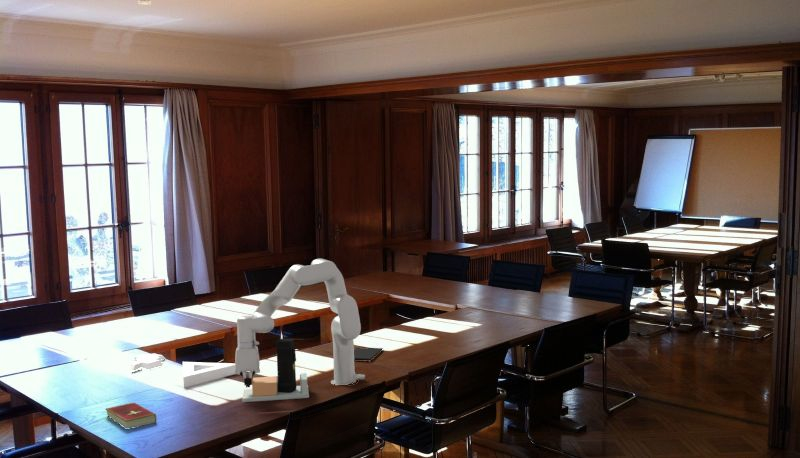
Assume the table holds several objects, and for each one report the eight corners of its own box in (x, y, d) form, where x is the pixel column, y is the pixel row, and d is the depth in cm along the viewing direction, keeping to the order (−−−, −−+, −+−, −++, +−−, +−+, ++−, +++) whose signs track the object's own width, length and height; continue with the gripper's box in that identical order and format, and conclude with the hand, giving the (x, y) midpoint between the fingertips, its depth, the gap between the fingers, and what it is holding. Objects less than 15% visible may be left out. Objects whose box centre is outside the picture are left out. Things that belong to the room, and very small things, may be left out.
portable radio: (299, 389, 322) (297, 333, 321) (293, 393, 317) (291, 336, 315) (282, 388, 324) (280, 332, 323) (277, 392, 318) (274, 335, 317)
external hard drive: (383, 353, 392) (383, 348, 391) (370, 364, 369) (369, 358, 369) (357, 352, 395) (357, 347, 395) (343, 363, 373) (343, 357, 373)
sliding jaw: (277, 387, 324) (277, 375, 324) (277, 394, 315) (277, 382, 314) (253, 389, 323) (253, 377, 322) (252, 396, 313) (252, 383, 313)
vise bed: (307, 388, 329) (307, 372, 328) (309, 397, 315) (308, 380, 314) (244, 392, 324) (243, 376, 324) (242, 402, 310) (241, 384, 310)
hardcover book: (135, 411, 303) (134, 401, 303) (156, 423, 287) (156, 412, 287) (105, 418, 295) (105, 407, 295) (126, 430, 279) (125, 419, 279)
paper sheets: (164, 376, 357) (164, 365, 356) (121, 379, 353) (121, 368, 352) (171, 359, 391) (171, 349, 391) (132, 362, 387) (132, 352, 387)
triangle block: (183, 374, 360) (182, 361, 360) (237, 369, 368) (236, 356, 367) (184, 390, 332) (183, 377, 331) (242, 384, 339) (242, 371, 339)
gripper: (264, 342, 321) (265, 383, 322) (229, 343, 319) (231, 385, 320) (264, 345, 314) (265, 388, 315) (228, 347, 311) (229, 390, 313)
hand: (248, 386), depth 317 cm, fingers closed
